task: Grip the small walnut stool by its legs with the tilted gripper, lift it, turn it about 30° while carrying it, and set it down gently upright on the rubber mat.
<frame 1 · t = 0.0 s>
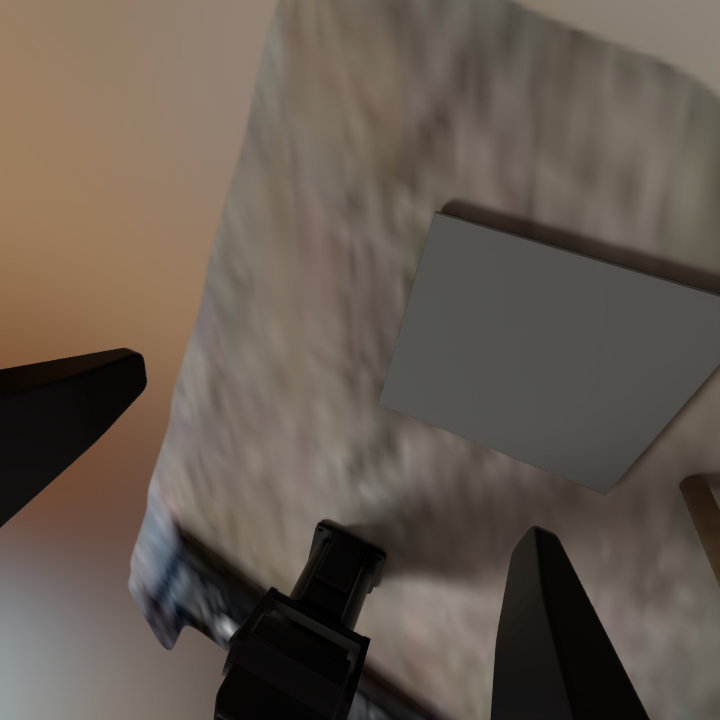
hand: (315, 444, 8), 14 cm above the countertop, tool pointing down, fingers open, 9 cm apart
mat: (528, 362, 21), on the countertop
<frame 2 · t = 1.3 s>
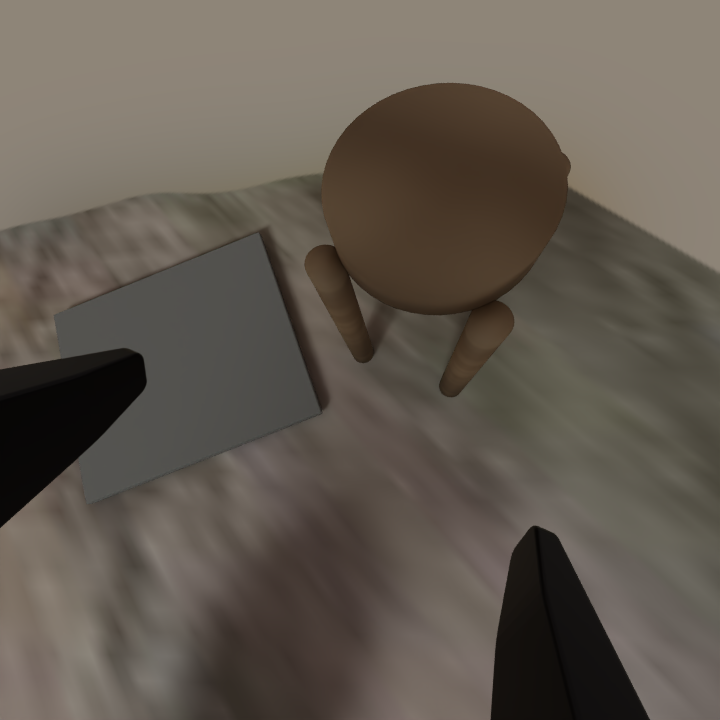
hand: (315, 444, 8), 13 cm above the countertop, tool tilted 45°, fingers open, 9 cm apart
mat: (182, 362, 24), on the countertop
stool: (422, 327, 23), on the countertop
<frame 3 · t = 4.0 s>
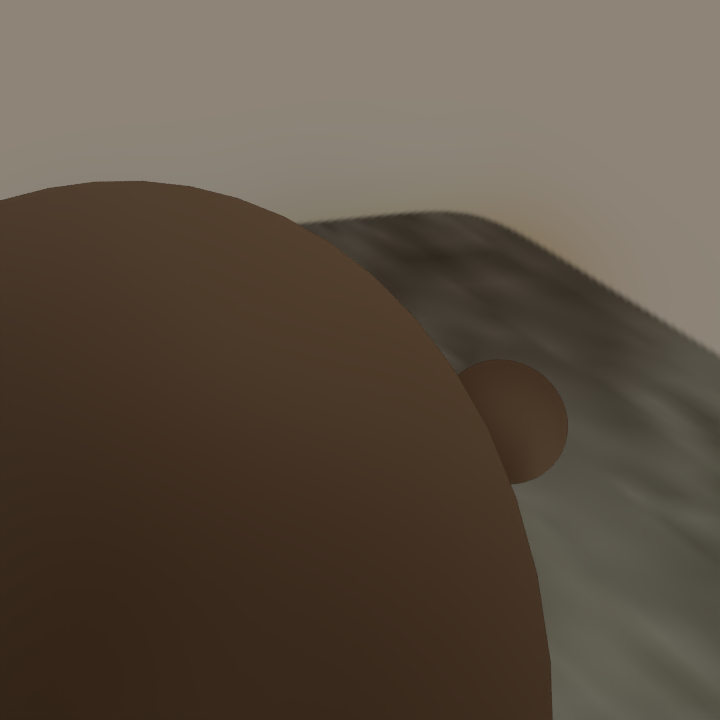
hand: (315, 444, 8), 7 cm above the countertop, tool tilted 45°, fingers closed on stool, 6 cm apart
stool: (339, 485, 15), on the countertop, touching gripper
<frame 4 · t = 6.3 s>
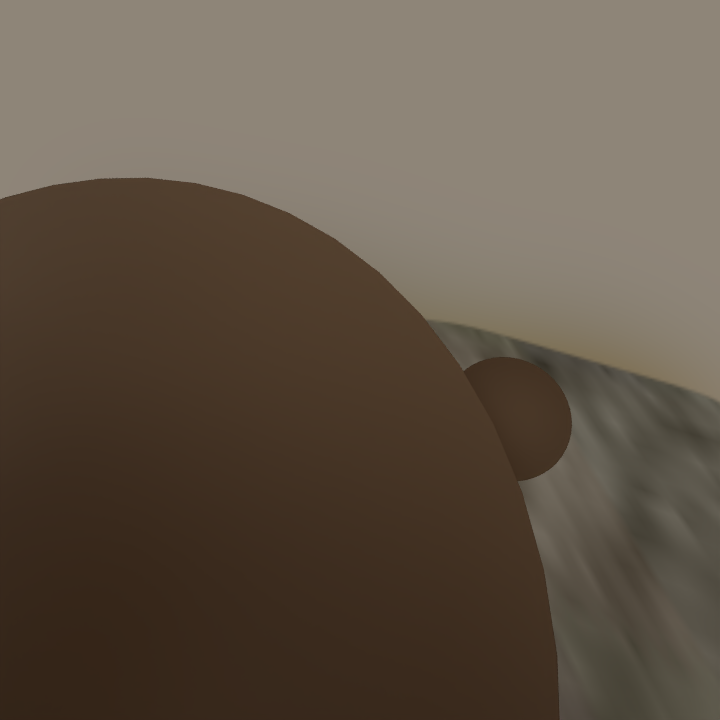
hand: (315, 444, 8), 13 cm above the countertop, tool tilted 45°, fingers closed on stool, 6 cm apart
stool: (340, 484, 15), point 7 cm above the countertop, touching gripper
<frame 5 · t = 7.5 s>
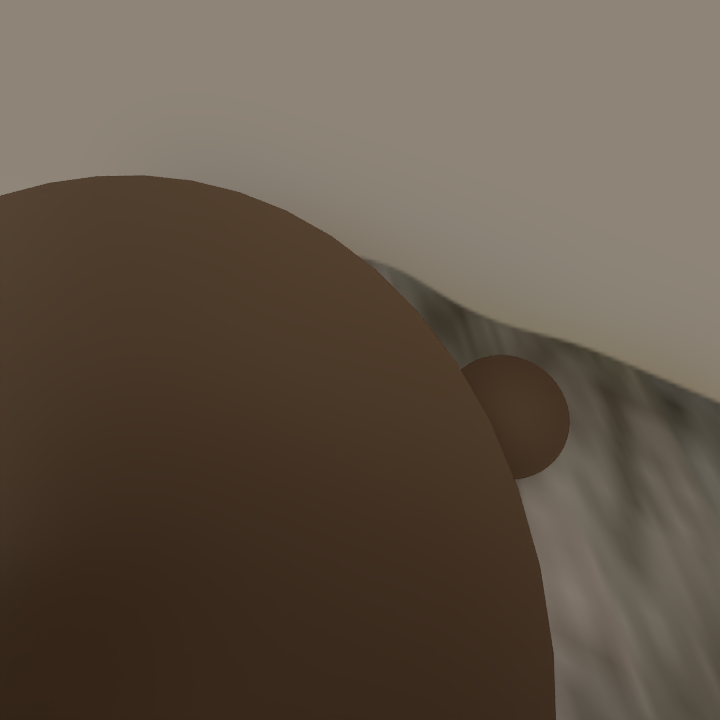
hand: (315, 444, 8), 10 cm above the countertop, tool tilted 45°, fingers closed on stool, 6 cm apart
stool: (340, 484, 15), point 4 cm above the countertop, touching gripper
when the fingers open (8 cm above the countertop, at t = 8.5 s): stool stays where it is, resting on mat.
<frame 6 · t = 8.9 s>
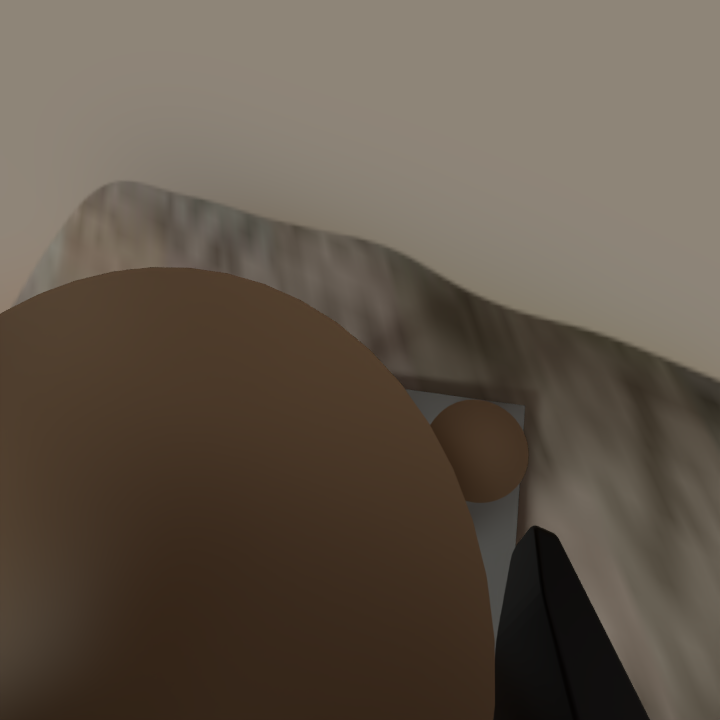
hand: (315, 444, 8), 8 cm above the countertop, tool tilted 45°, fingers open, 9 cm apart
mat: (325, 532, 16), on the countertop
stool: (340, 491, 15), point 1 cm above the countertop, touching mat
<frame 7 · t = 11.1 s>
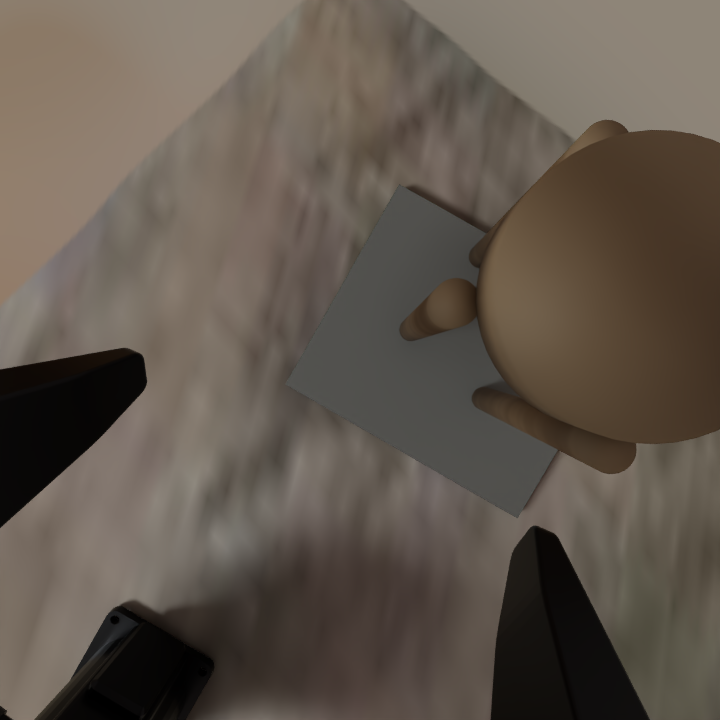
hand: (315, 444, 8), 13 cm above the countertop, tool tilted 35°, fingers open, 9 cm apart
mat: (456, 351, 21), on the countertop
stool: (481, 327, 21), resting on mat
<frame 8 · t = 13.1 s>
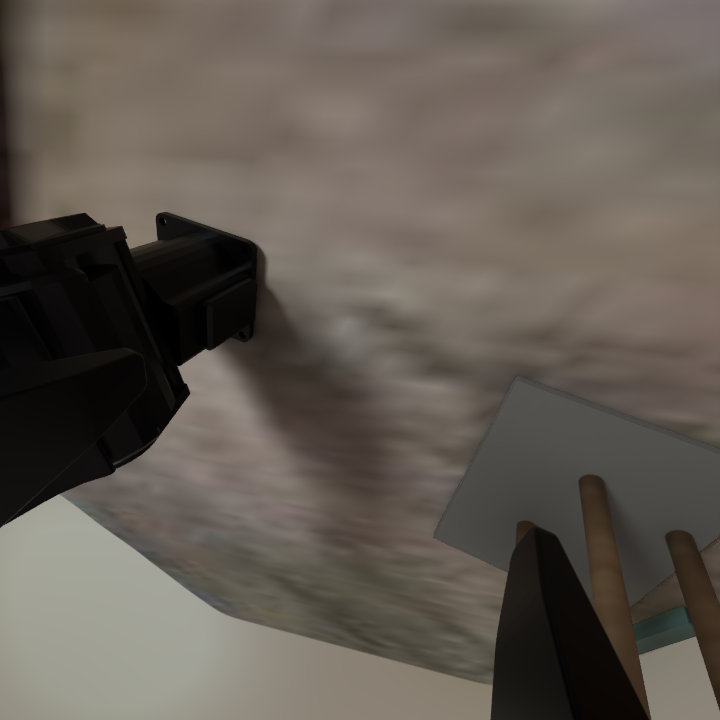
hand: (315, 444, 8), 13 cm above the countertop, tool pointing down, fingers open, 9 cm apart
mat: (570, 508, 23), on the countertop
stool: (597, 532, 22), resting on mat
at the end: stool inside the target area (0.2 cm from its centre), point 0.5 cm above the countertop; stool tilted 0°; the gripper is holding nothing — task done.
